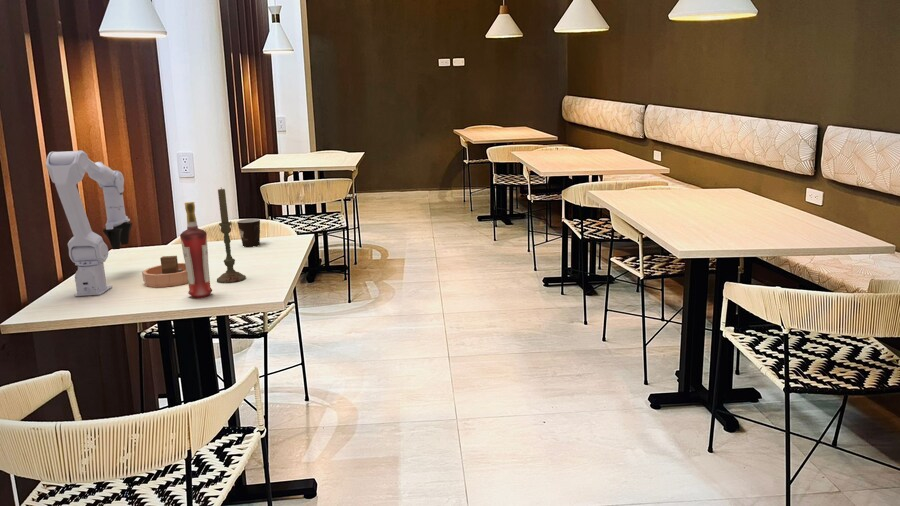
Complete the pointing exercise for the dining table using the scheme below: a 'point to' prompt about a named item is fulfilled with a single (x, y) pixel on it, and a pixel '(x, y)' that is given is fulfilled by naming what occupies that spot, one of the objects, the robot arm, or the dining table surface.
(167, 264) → the brown rectangular block
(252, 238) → the coffee mug
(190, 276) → the liquor
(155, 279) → the faceted copper bowl
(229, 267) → the candlestick holder
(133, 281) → the dining table surface
